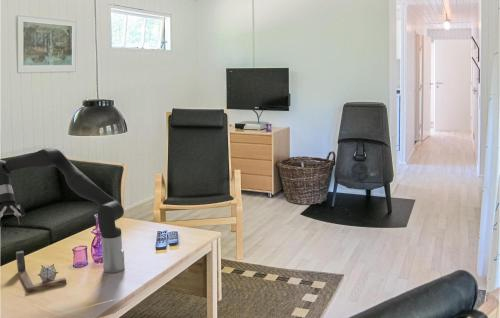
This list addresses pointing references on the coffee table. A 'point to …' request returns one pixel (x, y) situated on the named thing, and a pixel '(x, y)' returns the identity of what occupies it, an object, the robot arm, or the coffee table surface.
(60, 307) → the coffee table surface
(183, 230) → the coffee table surface
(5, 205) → the robot arm
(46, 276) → the grey spiky ball
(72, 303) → the coffee table surface
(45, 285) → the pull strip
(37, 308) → the coffee table surface
